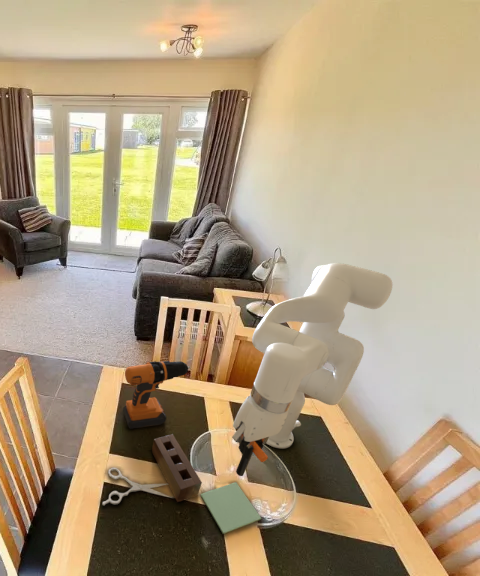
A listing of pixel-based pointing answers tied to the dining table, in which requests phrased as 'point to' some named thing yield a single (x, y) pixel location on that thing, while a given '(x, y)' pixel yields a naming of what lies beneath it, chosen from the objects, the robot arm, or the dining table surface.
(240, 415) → the robot arm
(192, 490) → the rack
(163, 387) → the dining table surface
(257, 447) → the t handle
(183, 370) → the power drill
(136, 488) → the scissors
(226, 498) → the mat
